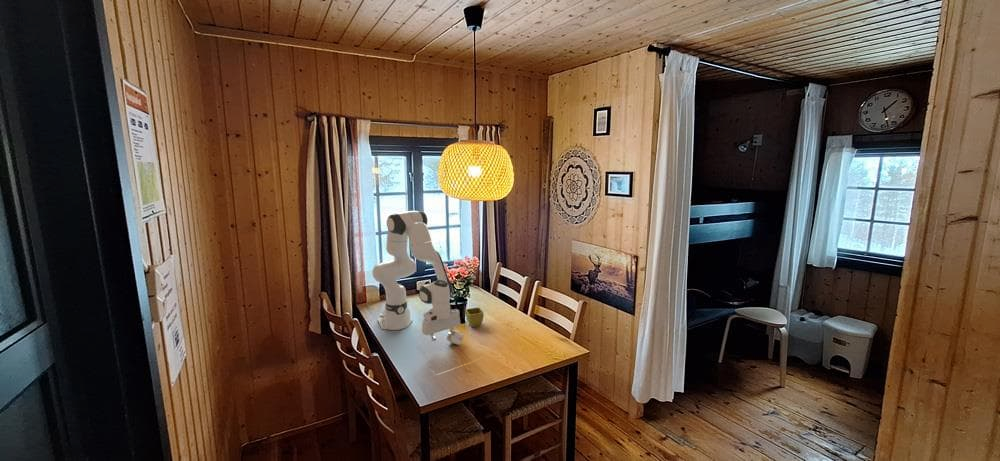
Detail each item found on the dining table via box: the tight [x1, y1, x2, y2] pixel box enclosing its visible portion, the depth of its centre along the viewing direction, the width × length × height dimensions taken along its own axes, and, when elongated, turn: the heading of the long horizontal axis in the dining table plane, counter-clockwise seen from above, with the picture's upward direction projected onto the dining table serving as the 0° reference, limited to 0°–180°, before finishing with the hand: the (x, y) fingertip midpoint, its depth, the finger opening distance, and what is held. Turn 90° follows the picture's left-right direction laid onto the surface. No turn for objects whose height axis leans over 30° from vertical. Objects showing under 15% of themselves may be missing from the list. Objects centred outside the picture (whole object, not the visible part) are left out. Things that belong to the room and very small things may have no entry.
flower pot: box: [464, 306, 485, 328], centre depth 228 cm, size 9×9×9 cm
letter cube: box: [446, 329, 465, 346], centre depth 205 cm, size 6×6×6 cm
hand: (442, 338), depth 200 cm, fingers open, 8 cm apart
